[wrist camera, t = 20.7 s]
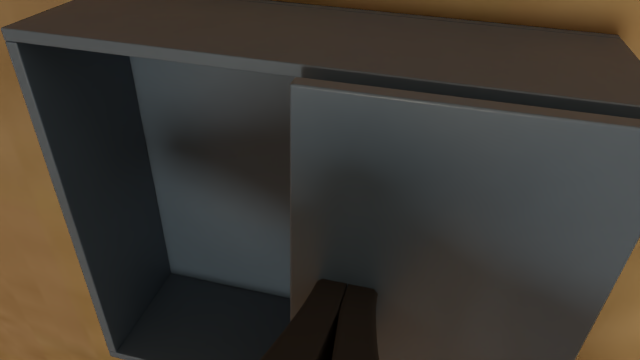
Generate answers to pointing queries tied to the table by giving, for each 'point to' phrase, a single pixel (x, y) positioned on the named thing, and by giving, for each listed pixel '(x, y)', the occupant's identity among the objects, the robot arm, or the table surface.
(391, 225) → the flap
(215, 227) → the carton
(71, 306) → the table surface
